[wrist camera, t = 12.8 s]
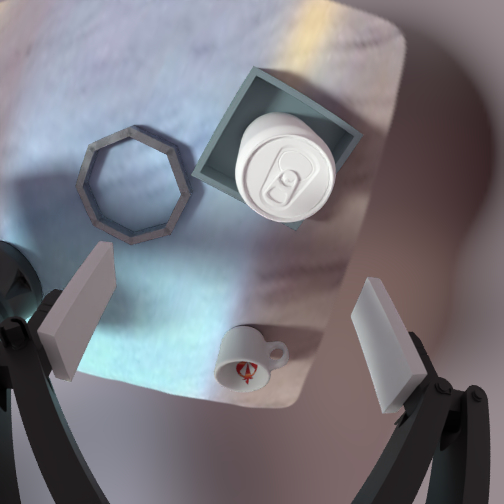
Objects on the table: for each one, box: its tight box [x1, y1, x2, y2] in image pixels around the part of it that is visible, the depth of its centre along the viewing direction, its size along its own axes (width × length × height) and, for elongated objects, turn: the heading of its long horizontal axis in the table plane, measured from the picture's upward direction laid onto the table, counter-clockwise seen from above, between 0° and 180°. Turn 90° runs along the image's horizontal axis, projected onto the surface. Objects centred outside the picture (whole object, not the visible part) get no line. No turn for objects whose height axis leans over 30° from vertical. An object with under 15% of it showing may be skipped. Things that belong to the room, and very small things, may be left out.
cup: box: [214, 326, 289, 392], centre depth 46 cm, size 11×8×8 cm
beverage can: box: [235, 112, 336, 222], centre depth 29 cm, size 8×8×12 cm
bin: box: [191, 66, 363, 231], centre depth 33 cm, size 13×13×4 cm
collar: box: [76, 125, 193, 245], centre depth 37 cm, size 14×14×2 cm
